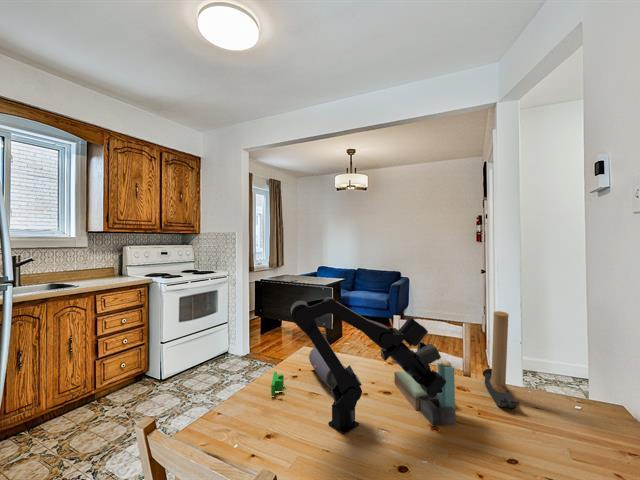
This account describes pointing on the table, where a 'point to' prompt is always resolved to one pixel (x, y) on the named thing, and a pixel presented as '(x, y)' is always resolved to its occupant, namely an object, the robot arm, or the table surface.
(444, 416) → the toolbox
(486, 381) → the hammer
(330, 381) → the bluetooth speaker
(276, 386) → the pipe clamp
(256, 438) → the table surface
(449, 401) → the teal rectangular block
